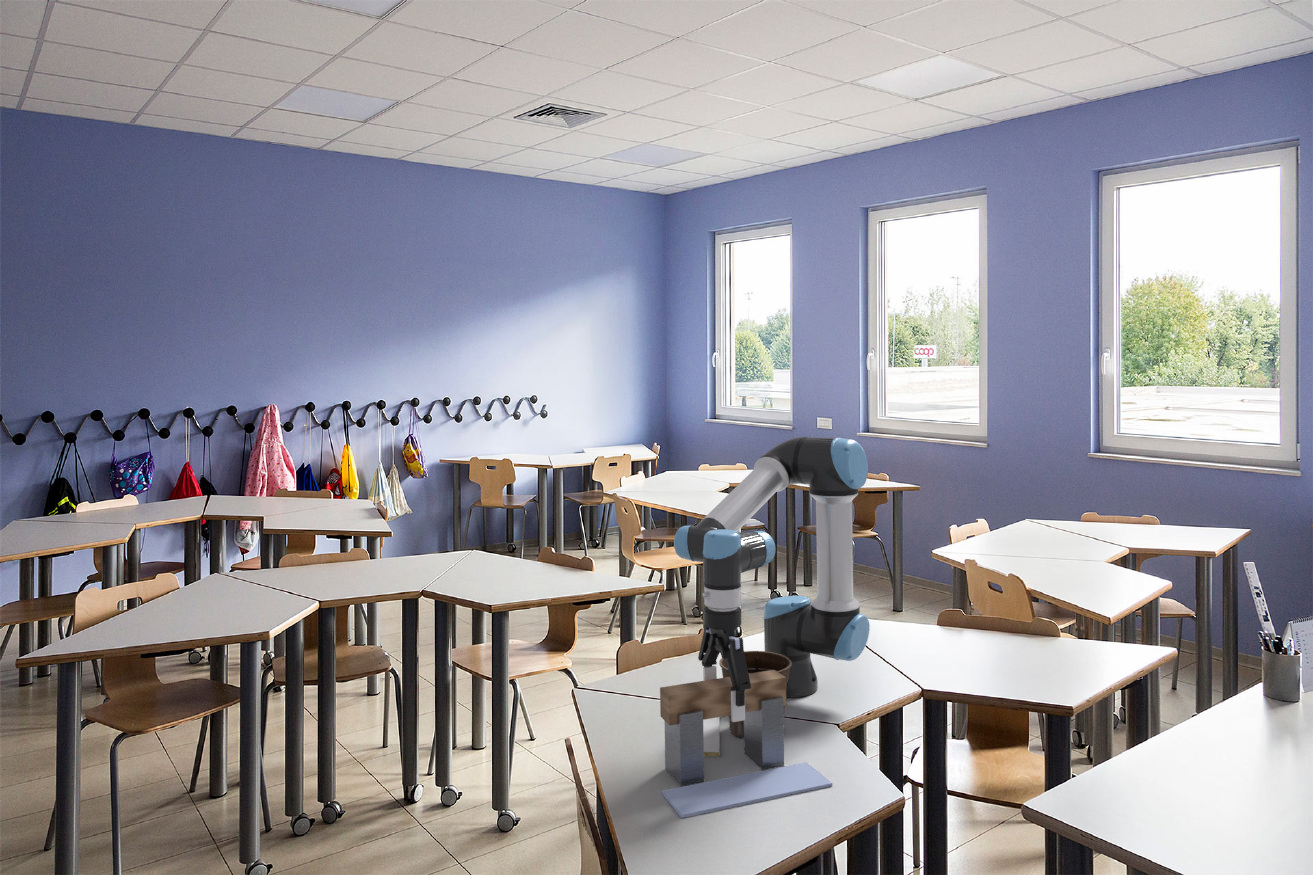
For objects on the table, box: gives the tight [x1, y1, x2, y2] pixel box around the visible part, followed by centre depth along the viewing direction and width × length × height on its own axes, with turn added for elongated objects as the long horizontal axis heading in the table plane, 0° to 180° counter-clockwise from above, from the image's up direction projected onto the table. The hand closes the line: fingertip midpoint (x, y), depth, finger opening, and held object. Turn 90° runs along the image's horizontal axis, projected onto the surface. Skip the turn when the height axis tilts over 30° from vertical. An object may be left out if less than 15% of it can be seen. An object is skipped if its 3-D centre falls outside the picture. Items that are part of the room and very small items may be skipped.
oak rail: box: [659, 670, 787, 726], centre depth 180 cm, size 26×5×6 cm, turn 110°
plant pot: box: [718, 650, 792, 739], centre depth 198 cm, size 16×16×16 cm
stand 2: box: [743, 696, 785, 771], centre depth 184 cm, size 5×8×14 cm, turn 20°
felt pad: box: [661, 761, 833, 819], centre depth 171 cm, size 32×10×1 cm, turn 110°
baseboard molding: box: [703, 717, 720, 757], centre depth 202 cm, size 31×3×12 cm
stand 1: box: [664, 710, 705, 787], centre depth 177 cm, size 5×8×14 cm, turn 20°
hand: (723, 708), depth 180 cm, fingers open, 13 cm apart
